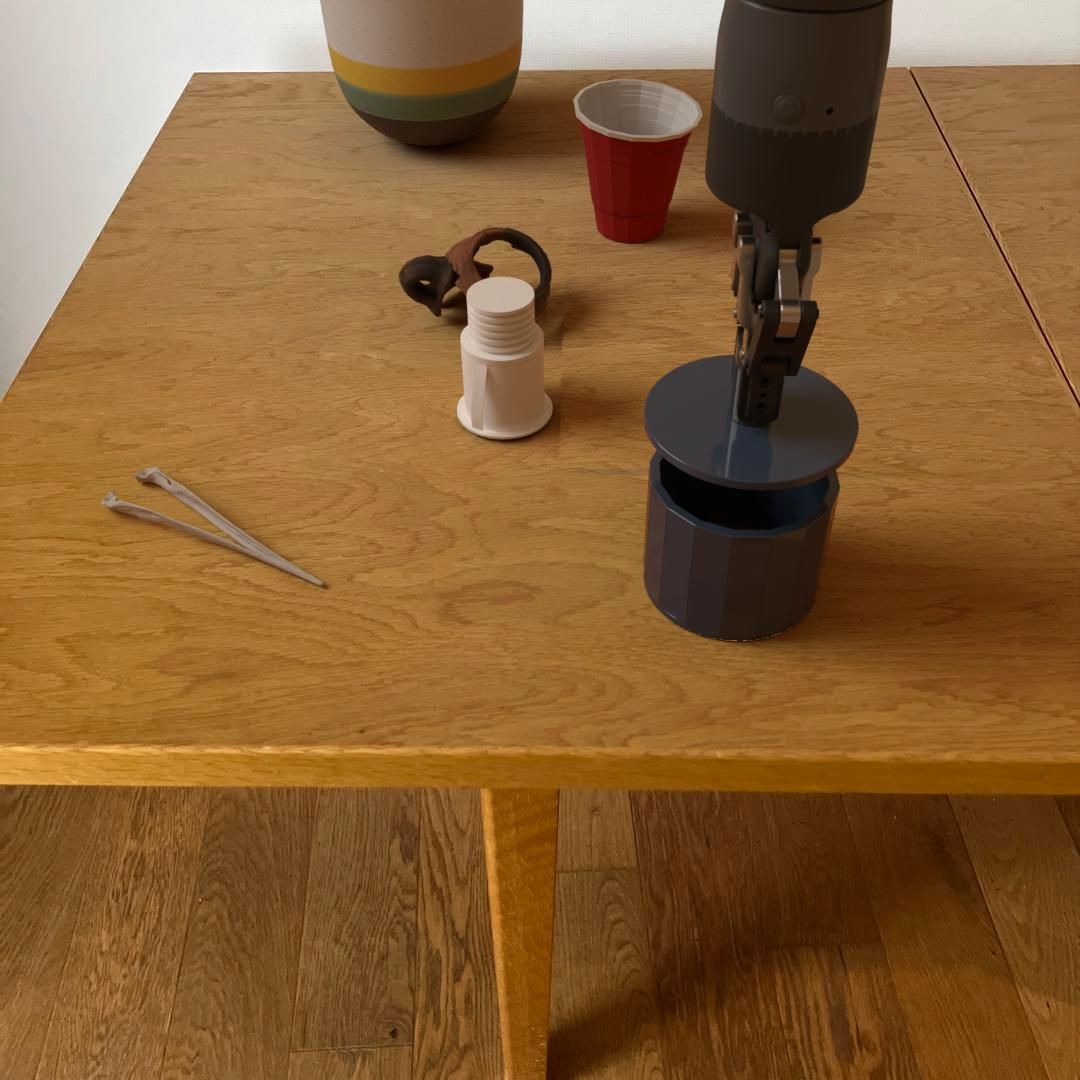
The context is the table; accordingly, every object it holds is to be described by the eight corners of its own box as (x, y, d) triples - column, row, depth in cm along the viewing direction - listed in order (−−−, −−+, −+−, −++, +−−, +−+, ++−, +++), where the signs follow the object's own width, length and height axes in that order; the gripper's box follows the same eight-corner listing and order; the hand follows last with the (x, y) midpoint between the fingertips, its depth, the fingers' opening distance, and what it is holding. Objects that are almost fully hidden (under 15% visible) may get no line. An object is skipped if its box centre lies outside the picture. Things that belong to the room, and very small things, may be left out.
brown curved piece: (514, 276, 103) (549, 216, 96) (535, 371, 100) (573, 317, 93) (379, 269, 98) (405, 205, 91) (397, 369, 95) (426, 311, 88)
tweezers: (98, 512, 80) (92, 490, 79) (150, 475, 83) (145, 452, 82) (300, 623, 74) (297, 601, 73) (348, 578, 77) (346, 556, 76)
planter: (493, 185, 114) (483, -54, 100) (306, 162, 119) (271, -71, 104) (549, 104, 128) (547, -116, 114) (379, 86, 132) (357, -129, 118)
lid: (838, 371, 71) (855, 282, 67) (872, 501, 63) (894, 408, 59) (639, 369, 72) (644, 281, 68) (646, 498, 63) (652, 405, 59)
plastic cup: (660, 275, 102) (669, 140, 94) (549, 245, 106) (549, 113, 98) (711, 221, 109) (724, 91, 101) (606, 195, 113) (610, 67, 105)
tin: (805, 521, 79) (824, 418, 73) (828, 643, 71) (852, 537, 65) (640, 519, 79) (646, 416, 73) (646, 640, 71) (653, 535, 65)
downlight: (490, 372, 92) (484, 255, 85) (572, 397, 89) (573, 278, 83) (435, 429, 87) (425, 309, 80) (521, 457, 84) (517, 336, 77)
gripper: (910, 158, 49) (841, 484, 61) (854, 33, 59) (805, 332, 71) (725, 158, 49) (692, 482, 61) (702, 33, 59) (678, 331, 71)
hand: (753, 400), depth 66 cm, fingers closed on lid, 2 cm apart
